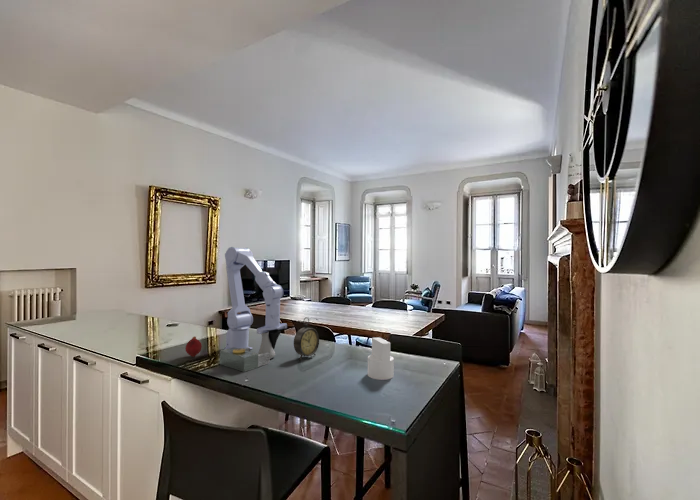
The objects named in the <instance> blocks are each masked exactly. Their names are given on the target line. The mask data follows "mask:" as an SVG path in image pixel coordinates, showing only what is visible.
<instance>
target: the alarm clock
mask: <svg viewBox="0 0 700 500" xmlns="http://www.w3.org/2000/svg"><path fill="white" fill-rule="evenodd" d="M306 319H307V320H308V321H307V323H305V321H306ZM302 322H303V325H304V327H302V328H300V329H298V331H297V332H296V333H295V336H294V338H293V348H294V351H295V352H296V354H298V355H299V356H300V357H299V359H298V360H299V361H301V359H303V357H311V356H313V355H314V356H316V352H317V350H318V348H319V345H320V336H319V333H318V331H317V330H316V329H315V328H313V327H308V325H309V323H310V318H309V317H307V316H306V317H305V318H304V319H303V321H302Z"/></svg>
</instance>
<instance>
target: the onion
mask: <svg viewBox="0 0 700 500" xmlns="http://www.w3.org/2000/svg"><path fill="white" fill-rule="evenodd" d="M202 348H203V346H202V342H201V341H200V340H199V339H197V336H192V338H191V339H189V340H188V341H187V342H186V345H185V352H186V354H187V355H189V356H190V357H192V358H194V357H196V356H197V355H198V354H199V353H200V352H201V351H202Z"/></svg>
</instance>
